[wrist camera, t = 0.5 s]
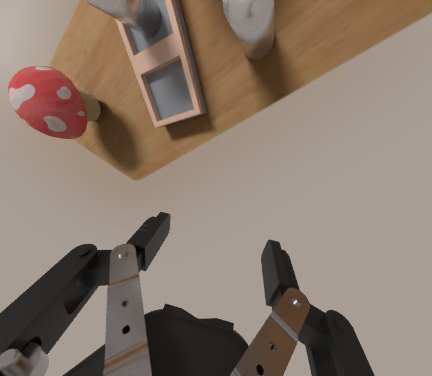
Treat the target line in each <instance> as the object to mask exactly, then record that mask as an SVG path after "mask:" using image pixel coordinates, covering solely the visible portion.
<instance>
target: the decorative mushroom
mask: <svg viewBox="0 0 432 376" xmlns="http://www.w3.org/2000/svg"><path fill="white" fill-rule="evenodd" d="M8 95H9V99H10V102H11V104H12V106H13V108H14V110H15V111H16V113H17V114H18V115H19V116H20V118H22V119H23V120H24V121H25V122H26V123H27V124H28V125H30V126H31V127H33V128H34V129H36V130H38V131H40V132H42V133H44V134H46V135H49V136H52V137H57V138H63V139H75V138H78V137H80V136H82V134H83V133H84V132H85V130H86V126H87V121H95V120H97V119H98V118H99V115H100V113H101V108H100V104H99V102H98V101H97V99H96V98H95V97H94V95H93V94H92V93H90V92H89V91H87V90H77V88H76V87H75V86H74V84H73V83H72V82H71V80H69V79H68V78H67V77H66V76H65V75H64V74H63V73H62V72H60V71H58V70H56V69H54V68H52V67H47V66H36V67H35V66H34V67H27V68H24V69H22V70H20V71H19V72H17V73H16V74H15V75H14V76H13V77H12V78H11V81H10V83H9V87H8Z"/></svg>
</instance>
